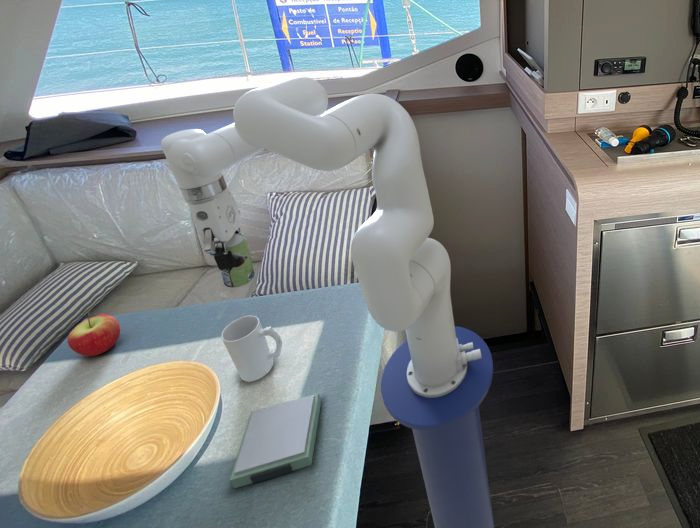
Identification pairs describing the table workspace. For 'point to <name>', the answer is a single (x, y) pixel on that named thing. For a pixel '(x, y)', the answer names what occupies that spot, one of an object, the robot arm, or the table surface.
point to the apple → (94, 335)
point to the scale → (277, 441)
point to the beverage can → (238, 262)
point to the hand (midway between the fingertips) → (233, 257)
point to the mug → (250, 347)
